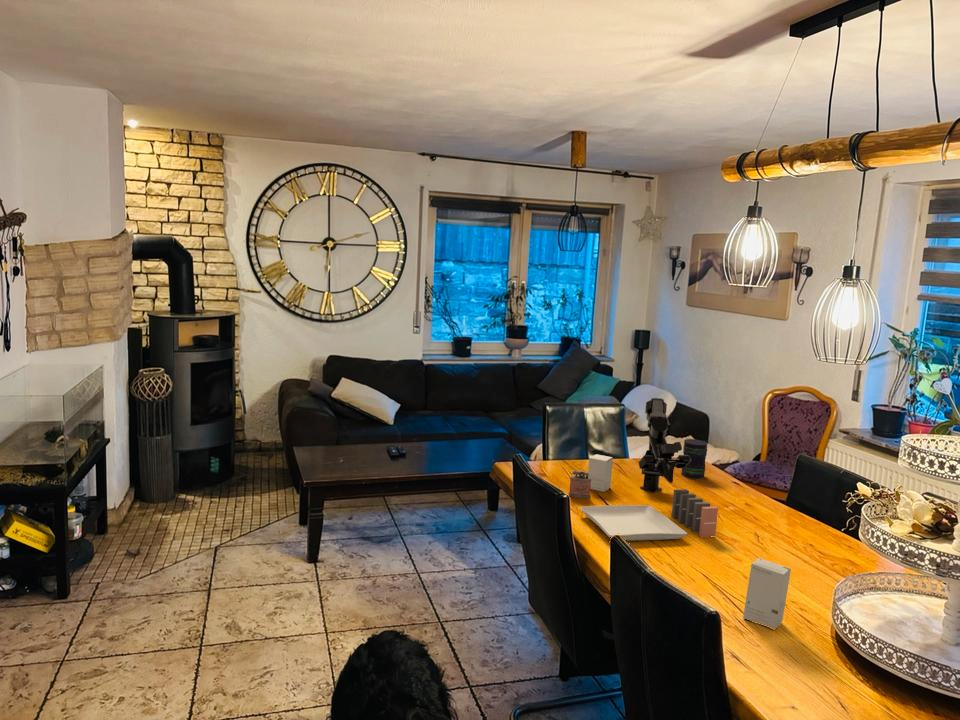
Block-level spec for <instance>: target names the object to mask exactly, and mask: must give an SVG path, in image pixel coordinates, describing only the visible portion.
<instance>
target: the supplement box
mask: <svg viewBox="0 0 960 720" xmlns="http://www.w3.org/2000/svg"><path fill="white" fill-rule="evenodd" d="M613 458H614V457H612V456H606V455H603V454H602V455H601V454H598V453H597V454H593V455H592V456H590V457H588V470H587V472H589V475H588V477H590V478H592V480H591V486H590V490H593V491H598V492H602V493H603V492H607V491H608V490H609V488H610V489H611V486H612V472H613Z"/></svg>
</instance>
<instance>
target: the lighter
mask: <svg viewBox="0 0 960 720" xmlns="http://www.w3.org/2000/svg"><path fill="white" fill-rule="evenodd" d="M588 475H589V472H588V471H584V470H580V471H579V470H572V475H571V476H569V479H570V480H569V491H568V492H569V493H568V497H569V496H570V498H574V497H580V498H579V499H590V498H591V489H590V486H591V480H592V478H590V477H588Z"/></svg>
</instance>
